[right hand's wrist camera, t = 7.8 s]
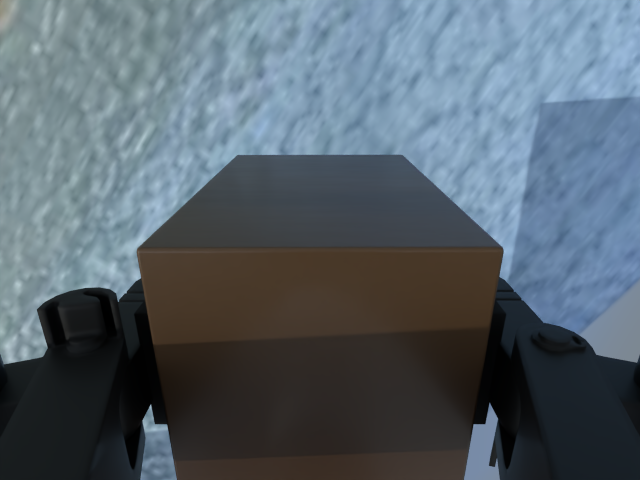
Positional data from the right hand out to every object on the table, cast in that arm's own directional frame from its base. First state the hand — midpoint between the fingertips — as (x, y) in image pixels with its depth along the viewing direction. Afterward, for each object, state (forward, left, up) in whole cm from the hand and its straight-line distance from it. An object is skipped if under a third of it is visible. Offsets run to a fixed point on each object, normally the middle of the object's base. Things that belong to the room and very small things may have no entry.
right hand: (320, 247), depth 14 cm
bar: (+7, +7, -1) cm, 10 cm away
